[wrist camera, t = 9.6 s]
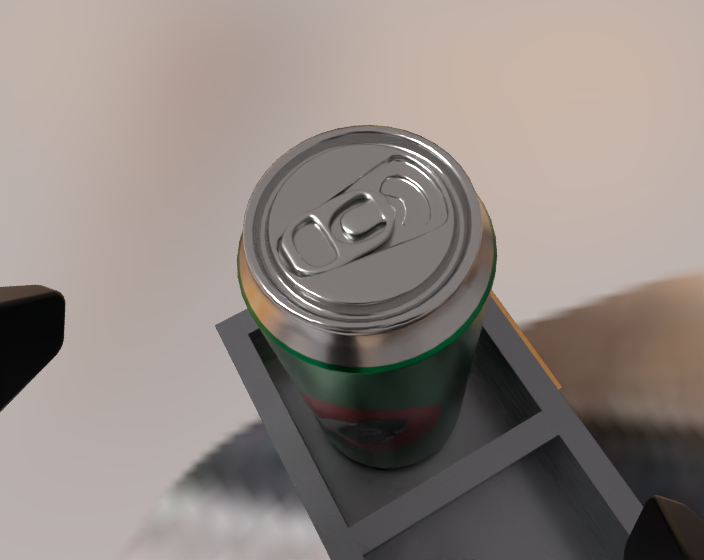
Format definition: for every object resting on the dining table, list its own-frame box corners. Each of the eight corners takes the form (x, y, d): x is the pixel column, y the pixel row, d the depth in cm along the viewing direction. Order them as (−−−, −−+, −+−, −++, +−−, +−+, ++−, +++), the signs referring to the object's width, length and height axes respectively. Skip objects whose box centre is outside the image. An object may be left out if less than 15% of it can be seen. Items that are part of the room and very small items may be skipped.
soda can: (490, 421, 21) (565, 257, 10) (362, 500, 20) (299, 411, 10) (411, 306, 23) (405, 69, 12) (292, 374, 22) (178, 184, 12)
